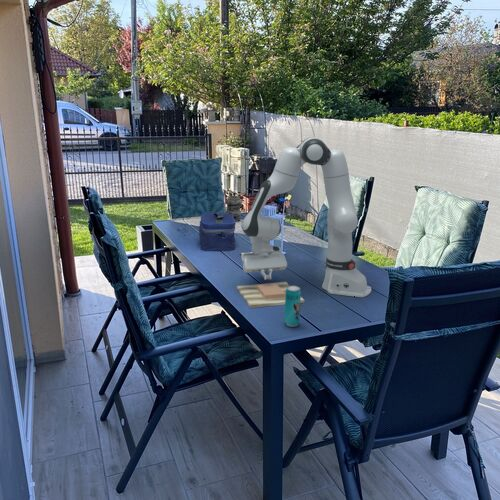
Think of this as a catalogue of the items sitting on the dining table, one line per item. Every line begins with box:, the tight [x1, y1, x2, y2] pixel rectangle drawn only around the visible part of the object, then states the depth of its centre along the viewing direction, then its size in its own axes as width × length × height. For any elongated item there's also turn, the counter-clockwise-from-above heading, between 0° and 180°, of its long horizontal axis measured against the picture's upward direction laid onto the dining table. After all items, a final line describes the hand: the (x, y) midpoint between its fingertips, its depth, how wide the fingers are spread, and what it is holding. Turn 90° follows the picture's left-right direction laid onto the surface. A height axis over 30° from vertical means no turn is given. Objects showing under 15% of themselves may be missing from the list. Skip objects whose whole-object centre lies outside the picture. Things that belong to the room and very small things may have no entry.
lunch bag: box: [198, 212, 236, 252], centre depth 293 cm, size 31×21×20 cm
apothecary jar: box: [224, 195, 242, 223], centre depth 362 cm, size 12×12×18 cm
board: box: [236, 281, 305, 309], centre depth 217 cm, size 24×24×1 cm
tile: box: [257, 283, 285, 301], centre depth 215 cm, size 9×2×13 cm
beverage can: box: [284, 285, 302, 328], centre depth 186 cm, size 6×6×15 cm
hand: (268, 279), depth 218 cm, fingers closed
